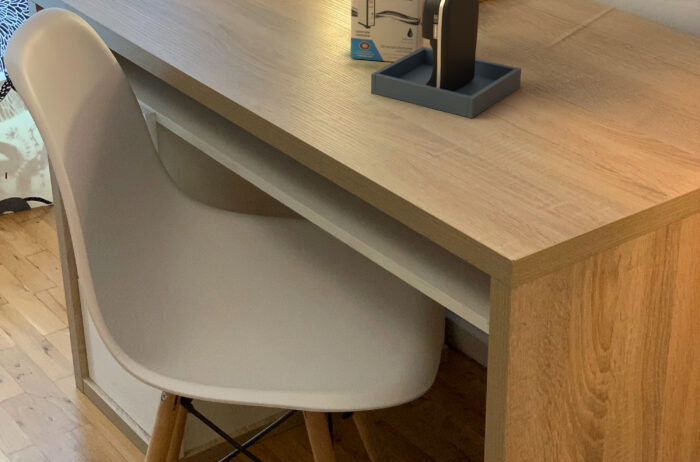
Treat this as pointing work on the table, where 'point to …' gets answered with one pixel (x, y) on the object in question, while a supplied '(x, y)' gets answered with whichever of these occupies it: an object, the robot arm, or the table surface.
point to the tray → (468, 100)
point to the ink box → (385, 29)
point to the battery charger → (451, 41)
